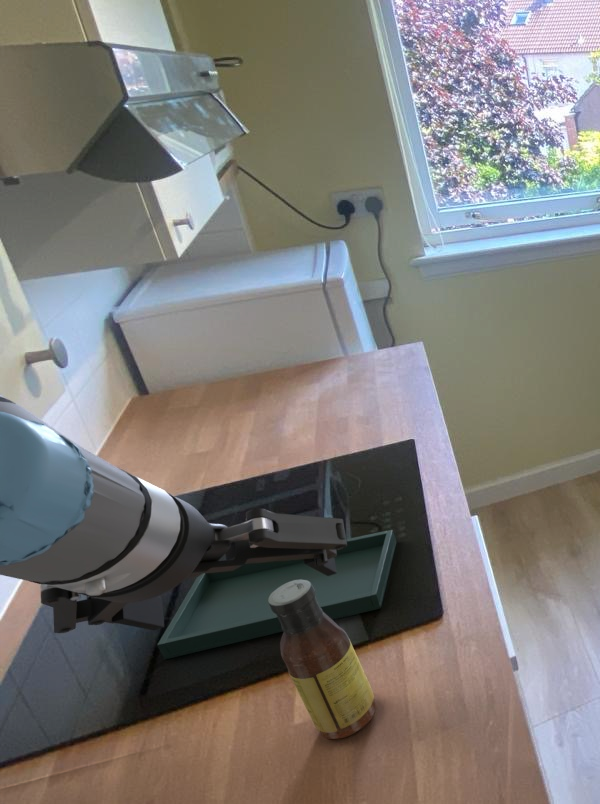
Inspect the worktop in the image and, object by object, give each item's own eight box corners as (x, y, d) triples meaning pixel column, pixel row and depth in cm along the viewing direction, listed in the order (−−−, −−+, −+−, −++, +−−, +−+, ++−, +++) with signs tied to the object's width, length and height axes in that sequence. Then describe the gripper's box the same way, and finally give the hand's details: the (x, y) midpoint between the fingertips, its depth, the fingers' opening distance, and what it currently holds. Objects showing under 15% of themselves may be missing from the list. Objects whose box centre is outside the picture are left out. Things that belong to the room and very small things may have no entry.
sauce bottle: (382, 691, 90) (336, 564, 82) (372, 733, 85) (322, 601, 77) (322, 707, 88) (269, 578, 80) (308, 751, 83) (250, 617, 75)
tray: (164, 659, 96) (156, 645, 95) (208, 582, 109) (201, 569, 108) (380, 608, 103) (376, 594, 102) (396, 542, 117) (392, 529, 116)
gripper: (-137, 667, 44) (80, 682, 62) (335, 530, 53) (402, 578, 71) (-131, 548, 46) (76, 596, 65) (319, 436, 55) (387, 506, 74)
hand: (247, 586), depth 68 cm, fingers open, 13 cm apart
